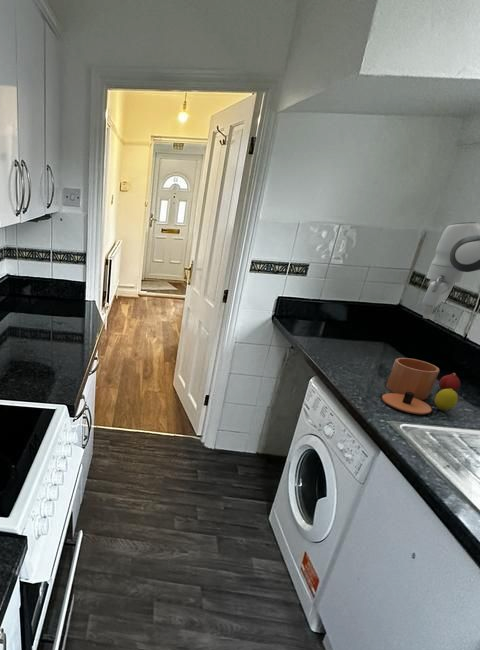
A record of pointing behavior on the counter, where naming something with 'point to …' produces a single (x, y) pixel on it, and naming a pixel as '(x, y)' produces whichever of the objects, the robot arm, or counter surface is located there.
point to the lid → (406, 403)
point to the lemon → (446, 399)
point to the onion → (449, 382)
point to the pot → (412, 377)
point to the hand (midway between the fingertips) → (429, 315)
